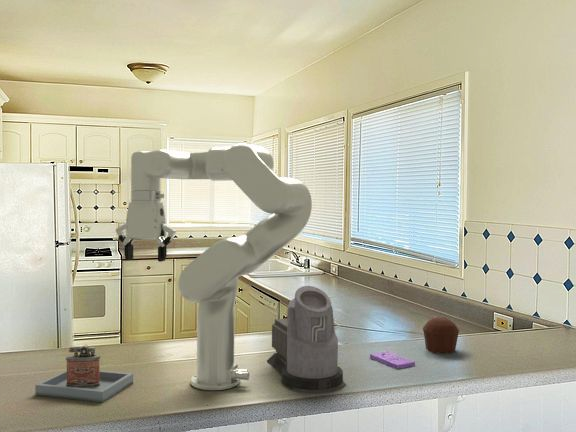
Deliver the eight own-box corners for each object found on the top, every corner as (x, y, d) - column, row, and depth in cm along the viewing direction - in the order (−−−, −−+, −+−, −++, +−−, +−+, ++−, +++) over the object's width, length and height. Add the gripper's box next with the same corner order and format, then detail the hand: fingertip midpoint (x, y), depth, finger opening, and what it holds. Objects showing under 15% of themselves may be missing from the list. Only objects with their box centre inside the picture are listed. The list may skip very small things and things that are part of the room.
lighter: (101, 383, 142) (101, 343, 142) (98, 387, 139) (98, 347, 138) (67, 384, 141) (67, 344, 141) (64, 388, 138) (64, 348, 137)
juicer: (355, 389, 142) (357, 292, 141) (296, 397, 136) (297, 296, 135) (309, 357, 170) (311, 276, 169) (259, 362, 164) (259, 278, 163)
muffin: (424, 343, 187) (424, 313, 186) (459, 346, 183) (459, 316, 183) (420, 353, 175) (421, 321, 175) (458, 356, 172) (458, 324, 171)
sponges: (387, 356, 173) (387, 350, 173) (415, 367, 162) (415, 360, 162) (369, 359, 169) (369, 353, 169) (397, 371, 159) (397, 364, 158)
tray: (133, 383, 144) (133, 373, 144) (102, 402, 131) (102, 391, 130) (71, 377, 148) (71, 367, 148) (35, 395, 135) (35, 384, 135)
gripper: (181, 197, 154) (180, 260, 155) (123, 197, 158) (123, 257, 159) (168, 197, 147) (168, 263, 148) (109, 197, 151) (109, 260, 152)
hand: (145, 260), depth 153 cm, fingers open, 9 cm apart
